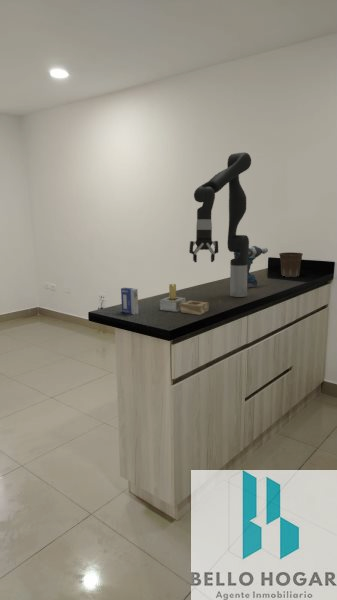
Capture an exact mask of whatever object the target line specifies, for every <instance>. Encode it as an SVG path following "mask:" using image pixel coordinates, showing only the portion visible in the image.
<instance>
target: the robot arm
mask: <svg viewBox="0 0 337 600" xmlns="http://www.w3.org/2000/svg"><path fill="white" fill-rule="evenodd" d="M251 166H252V158H251V155H250V154H249V153H248V152H237V153H236V152H235V153H231V154H230V155H229V156H228V158H227V167H226V168H225V169H223V170H221V171H219V172H218V173H217V174H215V175H214V176H213V177H212V178H210V179H209V180H208V181H207V182H204V183H203V184H201V185H199V186H198V187H197V188H195V191H194V192H193V198H194V200H195V201H196V202H197V203H202V205H201V206H200V207H199V208H197V211H196V225H195V226H196V228H195V230H196V232H195V233H196V234H195V235H196V236H195V237H196V238H195V239H196V240H195V241H193V240H190V241H189V250H188V251H189V254H192V261H193V262H194V263H197V262H198V261H197V260H198V258H197V256H198V255H197V254H198V253H199V252H200V250H201V251H204V250H205V251H209V253H210V262H211V263H214V261H215V257H216V256H215V255H216V254H218V253H219V241H218V240H214V241H213V236H212V232H213V231H212V230H213V223H212V210H213V208H214V203H215V199H216V194H217V193H218V192H219V191H221V190H222V189H223V188H224V187H225V186H226V185H227V184H228V229H227V230H228V232H227V250H228V251H229V252H230V253H234V252H240V255H239V256H238V257H237V258H232V259H230V261H229V262H230V264H229V265H230V271H229V275H230V276H229V277H230V278H229V281H230V282H229V283H230V284H229V285H230V287H229V293H230V294H229V295H230V297H235V298H242V297H247V296H248V288H247V264H248V251H249V247H250V238H249V237H248V236H247V235H246V234H237V231H238V230H237V229H238V226H239V224H240V222H241V220H243V217H244V215H245V214H246V211H247V195H246V193H245V190H244V189H243V187H242V185H241V182H240V175H241V174H242V173H244V172H246V171H248V170H249V169H250V167H251ZM212 245H213V247H214V248H212ZM194 246H196V247H195V249H194ZM213 249H214V250H213Z"/></svg>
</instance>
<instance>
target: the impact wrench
mask: <svg viewBox="0 0 337 600" xmlns="http://www.w3.org/2000/svg"><path fill="white" fill-rule="evenodd" d="M267 253H268V247H262V248H261V247H258V246H256V245H253V246H252V245H251V246H249V251H248V264H247V289H252V288H253V287H254V288H256V287H258V280H257V279H256V275H254V274H250V270H251V267H252V264H253V261H254V260H256V258H259V256H261V255H262V254H263V255H265V254H267ZM233 255H234V256H233V257H234V258H237V257H238V256H239V255H240V252H233ZM234 258H233V259H234Z"/></svg>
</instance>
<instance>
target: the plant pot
mask: <svg viewBox="0 0 337 600" xmlns="http://www.w3.org/2000/svg"><path fill="white" fill-rule="evenodd" d="M278 255H279V259H280V272H281V273H280V274H281V275H282V276H281V277H283V276H285V277H284V278H290V277H291V278H297V276H298V277H300V271H301V263H302V257H303V253H302V252H279V253H278Z"/></svg>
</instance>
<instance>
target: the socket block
mask: <svg viewBox="0 0 337 600" xmlns="http://www.w3.org/2000/svg"><path fill="white" fill-rule="evenodd" d="M185 302H187V300H186V297H179V296H176V300H170V297H169V296H167V297H164V298H161V299H159V308H160V311H167V312H174V313H177V312H179V311H180V312H181V304H182V303H185Z"/></svg>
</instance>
